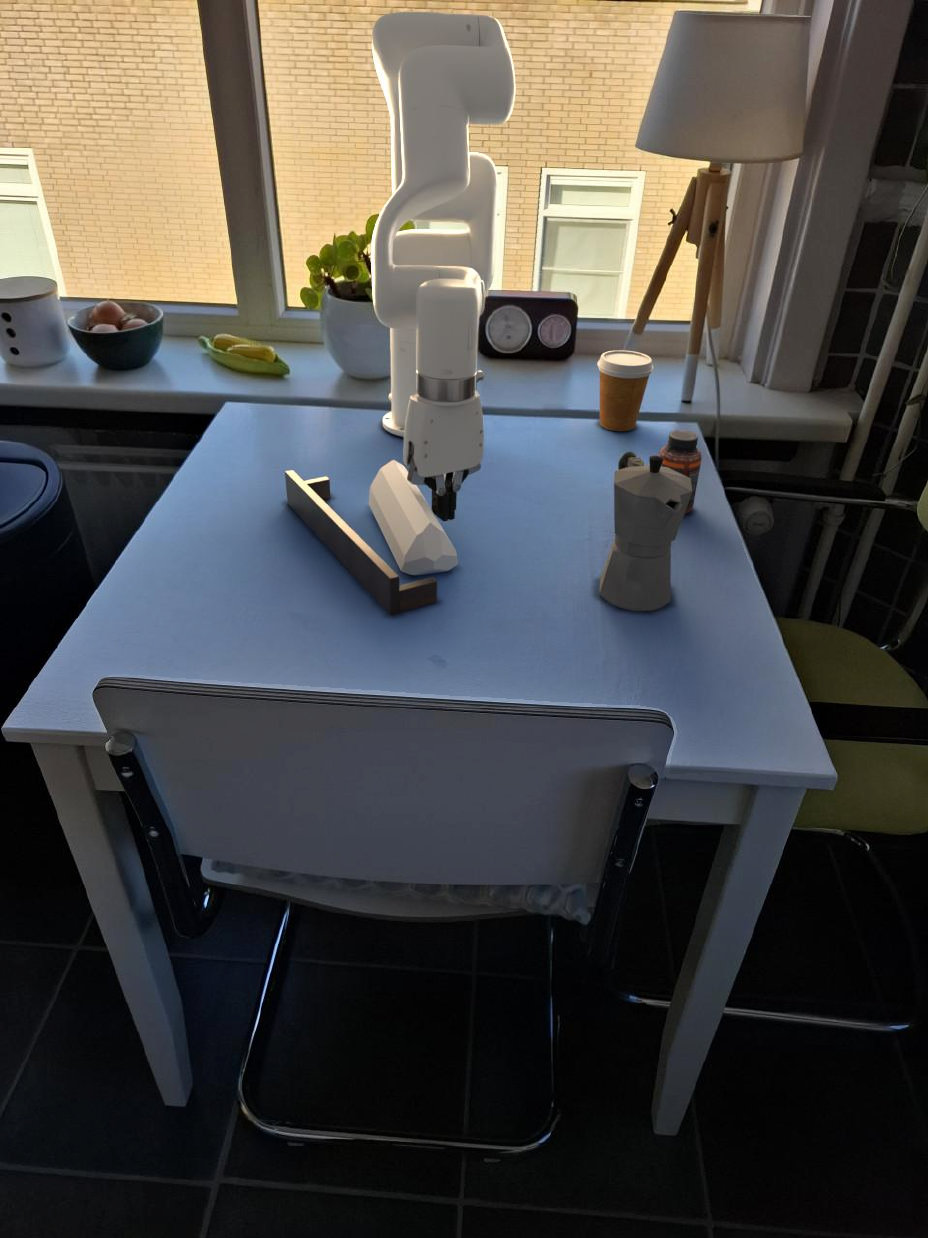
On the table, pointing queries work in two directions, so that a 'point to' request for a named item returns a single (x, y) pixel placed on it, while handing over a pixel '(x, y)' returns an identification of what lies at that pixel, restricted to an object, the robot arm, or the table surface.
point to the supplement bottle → (683, 458)
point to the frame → (355, 548)
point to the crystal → (409, 523)
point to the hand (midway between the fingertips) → (443, 516)
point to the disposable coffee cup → (622, 388)
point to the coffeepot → (643, 533)
